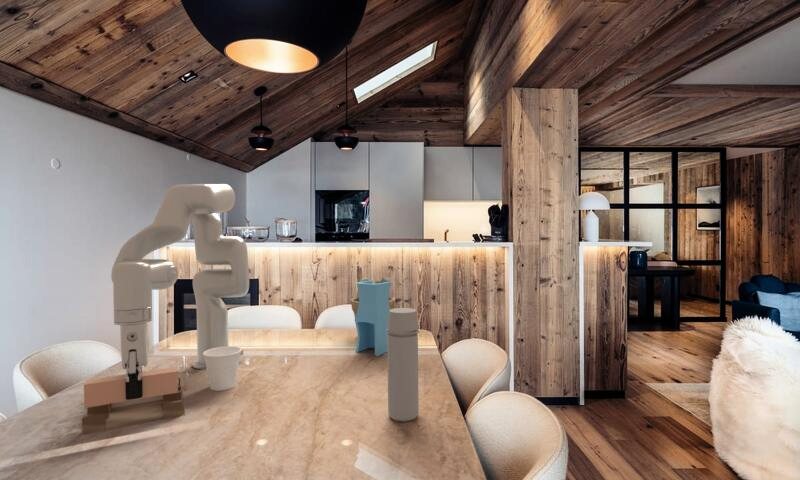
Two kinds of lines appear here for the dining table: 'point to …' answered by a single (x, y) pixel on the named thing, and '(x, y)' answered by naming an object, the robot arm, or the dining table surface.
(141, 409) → the rack
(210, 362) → the cup
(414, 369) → the water bottle
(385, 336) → the blue arched stand
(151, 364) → the dining table surface
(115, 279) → the robot arm
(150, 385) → the terracotta strip
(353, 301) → the potted plant
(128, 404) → the grey strip
